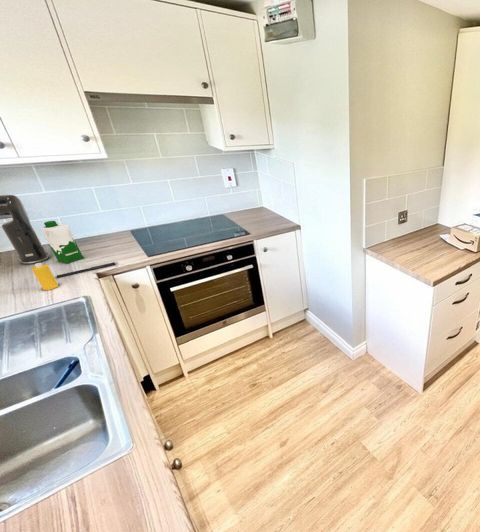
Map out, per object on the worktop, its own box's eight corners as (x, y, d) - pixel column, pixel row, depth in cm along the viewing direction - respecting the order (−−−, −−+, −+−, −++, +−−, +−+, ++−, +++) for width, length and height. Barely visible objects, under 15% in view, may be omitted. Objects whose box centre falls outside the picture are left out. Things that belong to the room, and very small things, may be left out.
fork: (57, 276, 149) (56, 275, 149) (114, 263, 162) (114, 262, 162) (57, 278, 147) (56, 277, 147) (115, 264, 160) (115, 263, 160)
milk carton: (75, 254, 169) (57, 218, 160) (86, 257, 167) (69, 221, 157) (54, 261, 162) (35, 224, 152) (66, 264, 159) (47, 226, 150)
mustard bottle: (43, 286, 141) (30, 263, 135) (58, 283, 144) (46, 260, 138) (42, 291, 138) (29, 267, 132) (58, 287, 141) (45, 264, 135)
